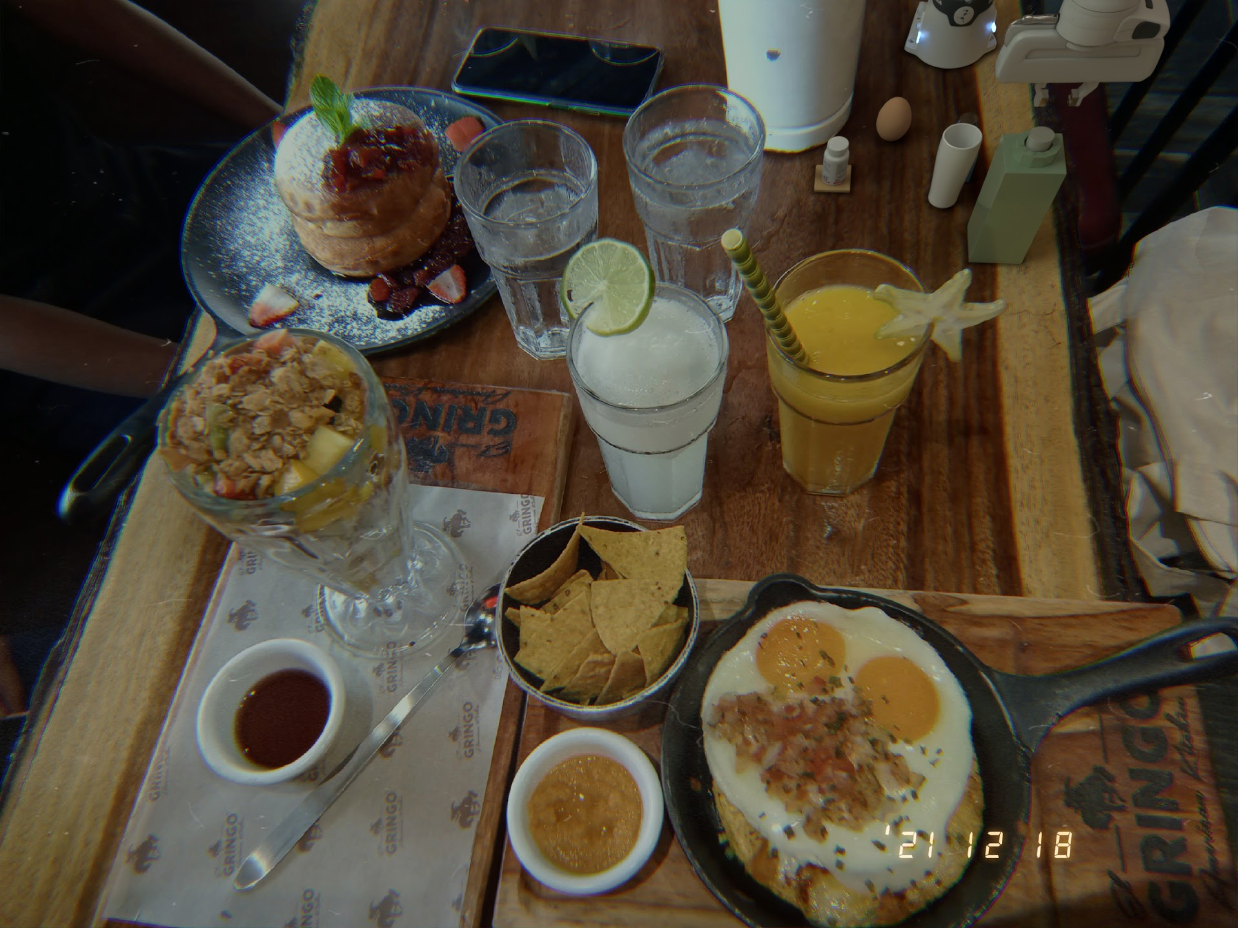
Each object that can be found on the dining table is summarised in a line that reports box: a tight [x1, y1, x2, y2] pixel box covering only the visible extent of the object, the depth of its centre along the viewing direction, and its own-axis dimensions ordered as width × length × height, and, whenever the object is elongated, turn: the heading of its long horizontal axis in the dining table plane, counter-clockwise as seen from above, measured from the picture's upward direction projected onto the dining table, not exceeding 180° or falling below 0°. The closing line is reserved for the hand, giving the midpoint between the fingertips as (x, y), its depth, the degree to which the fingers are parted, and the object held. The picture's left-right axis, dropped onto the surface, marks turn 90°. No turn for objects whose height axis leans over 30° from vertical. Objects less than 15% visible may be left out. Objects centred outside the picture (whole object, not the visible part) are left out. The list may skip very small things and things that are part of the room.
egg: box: [875, 96, 913, 142], centre depth 148 cm, size 7×7×9 cm
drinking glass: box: [927, 122, 983, 209], centre depth 136 cm, size 7×7×15 cm
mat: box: [813, 164, 852, 193], centre depth 149 cm, size 7×7×1 cm
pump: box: [1025, 125, 1055, 152], centre depth 116 cm, size 4×4×2 cm
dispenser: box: [966, 128, 1068, 265], centre depth 126 cm, size 9×9×23 cm
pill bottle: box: [822, 135, 850, 185], centre depth 145 cm, size 5×5×8 cm
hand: (1055, 104), depth 110 cm, fingers open, 3 cm apart
